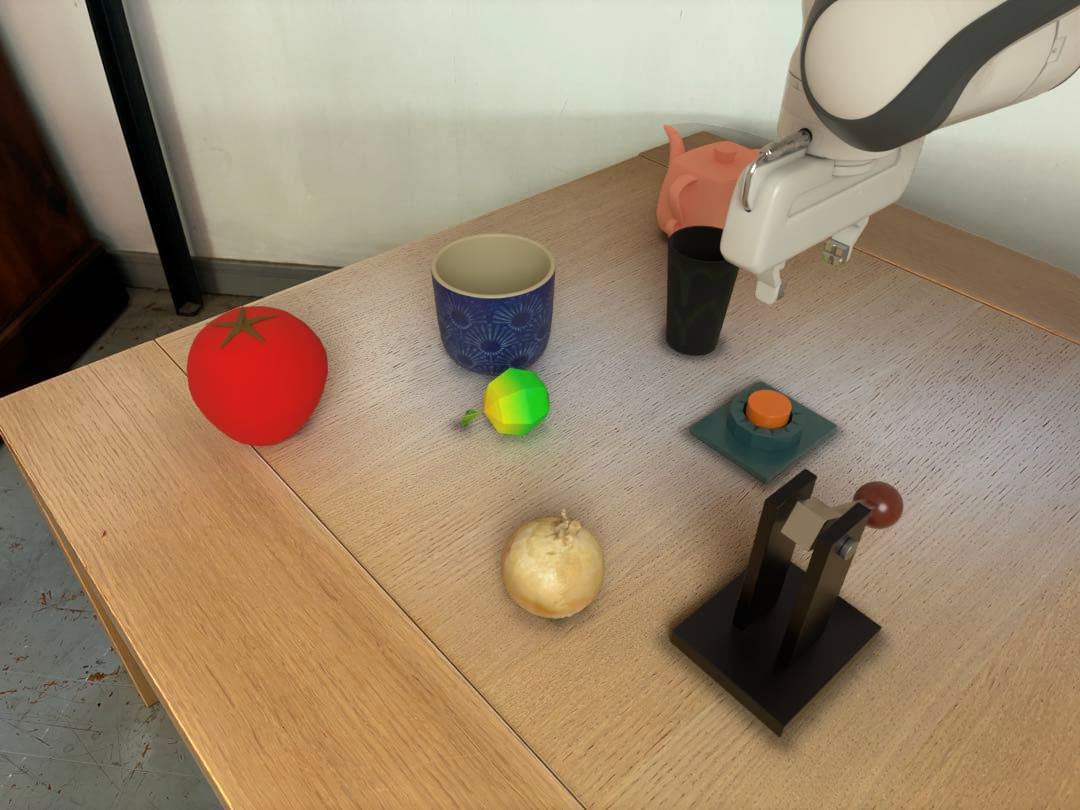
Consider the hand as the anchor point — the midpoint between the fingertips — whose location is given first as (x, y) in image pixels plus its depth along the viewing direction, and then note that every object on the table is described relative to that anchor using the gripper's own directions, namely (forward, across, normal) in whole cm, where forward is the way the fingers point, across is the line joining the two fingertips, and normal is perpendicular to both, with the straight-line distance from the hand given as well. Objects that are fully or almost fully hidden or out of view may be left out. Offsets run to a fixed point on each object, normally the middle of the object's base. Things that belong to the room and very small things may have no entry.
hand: (802, 279), depth 69 cm
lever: (+9, -14, -15) cm, 22 cm away
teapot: (+17, +25, +28) cm, 41 cm away
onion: (+17, -28, -1) cm, 33 cm away
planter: (+17, -12, +27) cm, 34 cm away
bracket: (+17, -18, -15) cm, 29 cm away
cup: (+17, +6, +15) cm, 23 cm away
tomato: (+17, -36, +31) cm, 50 cm away
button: (+15, 0, 0) cm, 15 cm away
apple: (+17, -19, +16) cm, 30 cm away
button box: (+17, 0, 0) cm, 17 cm away
